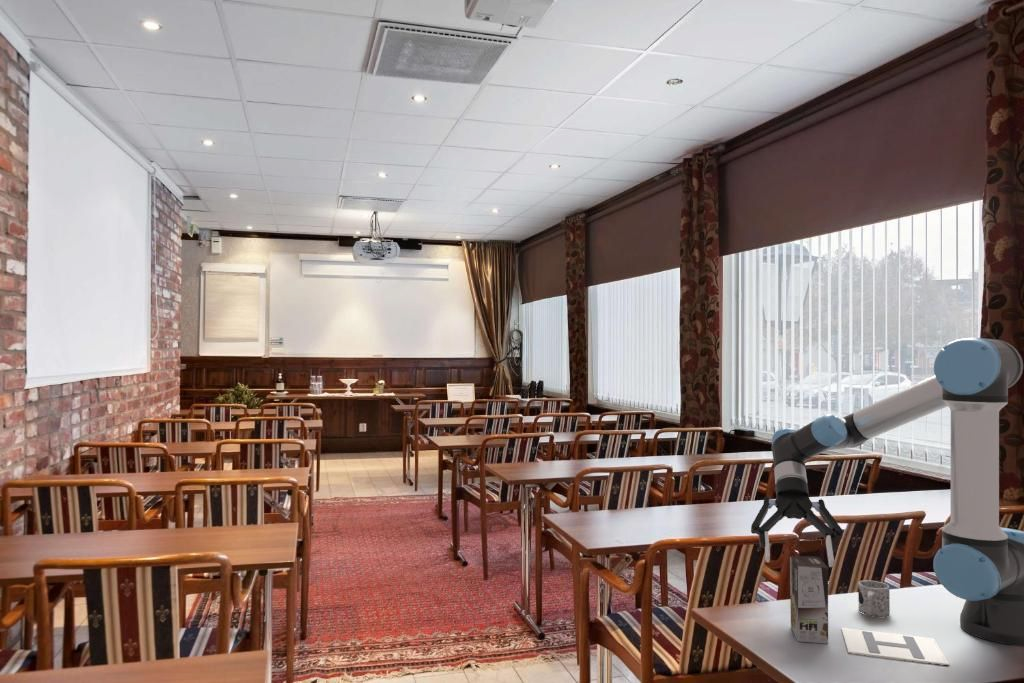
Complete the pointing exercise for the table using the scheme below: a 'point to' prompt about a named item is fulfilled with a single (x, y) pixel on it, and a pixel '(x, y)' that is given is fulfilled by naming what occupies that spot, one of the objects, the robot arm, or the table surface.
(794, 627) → the coffee box
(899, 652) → the letter card
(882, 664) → the table surface
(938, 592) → the table surface
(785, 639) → the table surface
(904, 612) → the table surface
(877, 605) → the mug
